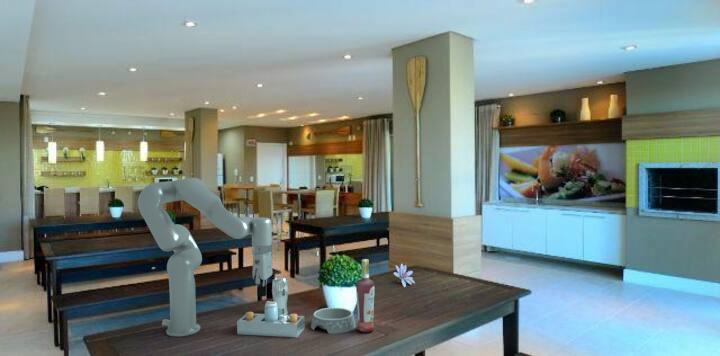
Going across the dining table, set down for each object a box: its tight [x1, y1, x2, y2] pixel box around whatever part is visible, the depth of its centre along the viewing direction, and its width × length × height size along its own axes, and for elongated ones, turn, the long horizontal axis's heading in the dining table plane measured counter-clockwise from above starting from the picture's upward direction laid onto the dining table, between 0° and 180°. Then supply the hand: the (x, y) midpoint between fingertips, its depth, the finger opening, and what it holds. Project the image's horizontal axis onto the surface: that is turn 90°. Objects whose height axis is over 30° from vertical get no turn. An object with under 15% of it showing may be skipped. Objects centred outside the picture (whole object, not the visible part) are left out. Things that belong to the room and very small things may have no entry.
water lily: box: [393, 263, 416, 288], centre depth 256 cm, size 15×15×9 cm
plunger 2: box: [288, 313, 298, 323], centre depth 184 cm, size 3×3×5 cm
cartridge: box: [264, 300, 278, 322], centre depth 186 cm, size 5×5×12 cm
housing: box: [236, 312, 306, 338], centre depth 186 cm, size 24×10×5 cm, turn 81°
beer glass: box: [271, 277, 289, 315], centre depth 207 cm, size 7×7×15 cm
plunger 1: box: [245, 311, 254, 321], centre depth 187 cm, size 3×3×5 cm
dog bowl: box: [310, 307, 357, 335], centre depth 192 cm, size 17×18×5 cm
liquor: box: [355, 258, 376, 333], centre depth 185 cm, size 7×7×28 cm
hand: (262, 295), depth 186 cm, fingers closed
